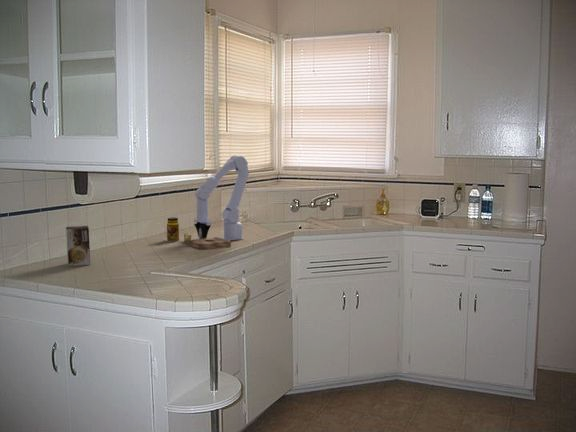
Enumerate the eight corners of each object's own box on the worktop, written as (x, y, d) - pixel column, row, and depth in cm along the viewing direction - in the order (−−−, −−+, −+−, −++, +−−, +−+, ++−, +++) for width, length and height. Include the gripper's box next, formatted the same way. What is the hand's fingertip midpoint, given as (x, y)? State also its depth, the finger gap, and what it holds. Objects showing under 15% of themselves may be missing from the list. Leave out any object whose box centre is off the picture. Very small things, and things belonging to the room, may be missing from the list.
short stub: (189, 240, 335) (189, 233, 334) (192, 241, 332) (192, 234, 331) (182, 241, 333) (182, 233, 332) (186, 242, 330) (186, 234, 329)
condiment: (169, 242, 330) (168, 219, 328) (163, 239, 337) (162, 217, 335) (182, 241, 333) (182, 218, 332) (176, 238, 341) (176, 216, 339)
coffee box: (89, 262, 280) (88, 225, 278) (90, 265, 275) (89, 227, 272) (67, 263, 277) (65, 226, 275) (67, 266, 271) (66, 228, 269)
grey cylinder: (203, 240, 337) (203, 227, 336) (207, 241, 334) (207, 228, 333) (197, 241, 334) (197, 227, 334) (201, 242, 332) (201, 228, 331)
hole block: (216, 241, 332) (216, 237, 332) (230, 246, 321) (230, 241, 321) (188, 245, 323) (188, 240, 323) (202, 249, 312) (202, 244, 311)
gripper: (188, 210, 335) (189, 236, 337) (202, 213, 324) (202, 240, 326) (200, 209, 340) (201, 234, 341) (214, 212, 328) (214, 239, 330)
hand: (202, 237), depth 334 cm, fingers open, 4 cm apart
